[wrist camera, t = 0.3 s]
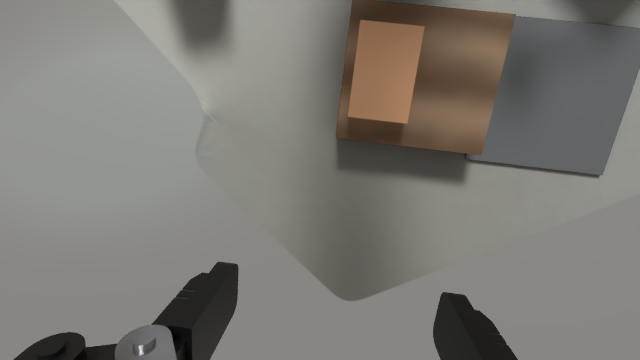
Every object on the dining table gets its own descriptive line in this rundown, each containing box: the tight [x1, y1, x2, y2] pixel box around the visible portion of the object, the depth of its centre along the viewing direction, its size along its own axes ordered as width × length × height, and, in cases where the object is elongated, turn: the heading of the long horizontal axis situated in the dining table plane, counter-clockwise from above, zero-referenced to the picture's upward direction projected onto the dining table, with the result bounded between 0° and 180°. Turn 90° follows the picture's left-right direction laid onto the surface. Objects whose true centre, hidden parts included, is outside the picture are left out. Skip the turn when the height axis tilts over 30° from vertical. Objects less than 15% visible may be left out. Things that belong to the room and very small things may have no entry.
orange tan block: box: [348, 20, 425, 124], centre depth 30 cm, size 9×6×2 cm, turn 174°
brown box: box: [336, 0, 516, 155], centre depth 33 cm, size 14×16×4 cm
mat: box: [465, 16, 640, 175], centre depth 34 cm, size 16×16×1 cm
